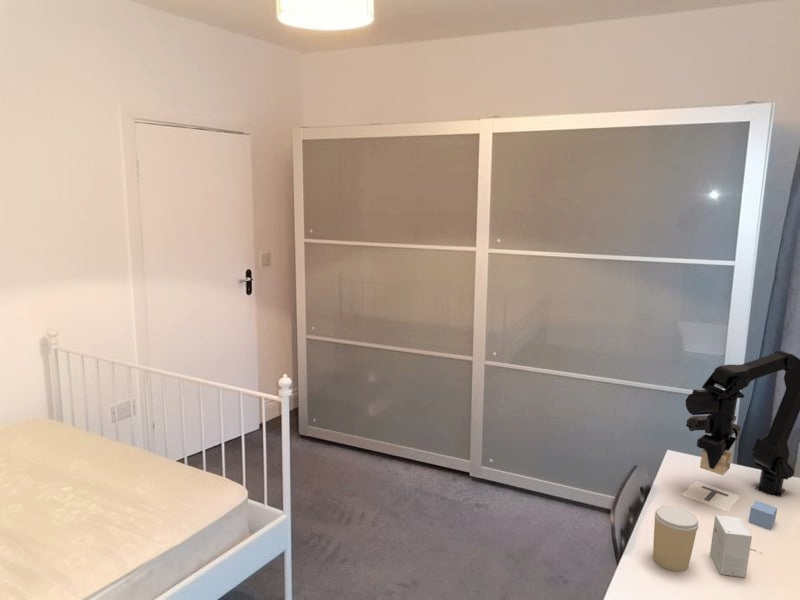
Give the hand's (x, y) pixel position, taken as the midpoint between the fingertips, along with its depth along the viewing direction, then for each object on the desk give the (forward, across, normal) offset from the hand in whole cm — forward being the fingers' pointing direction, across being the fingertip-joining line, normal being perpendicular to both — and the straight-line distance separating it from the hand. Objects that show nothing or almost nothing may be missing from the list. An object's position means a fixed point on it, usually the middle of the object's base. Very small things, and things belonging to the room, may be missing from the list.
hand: (715, 464), depth 171 cm
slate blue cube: (+10, +5, +14) cm, 18 cm away
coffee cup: (+10, +39, +3) cm, 40 cm away
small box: (+10, +31, +13) cm, 35 cm away
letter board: (+10, 0, 0) cm, 10 cm away
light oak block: (+1, 0, 0) cm, 1 cm away
